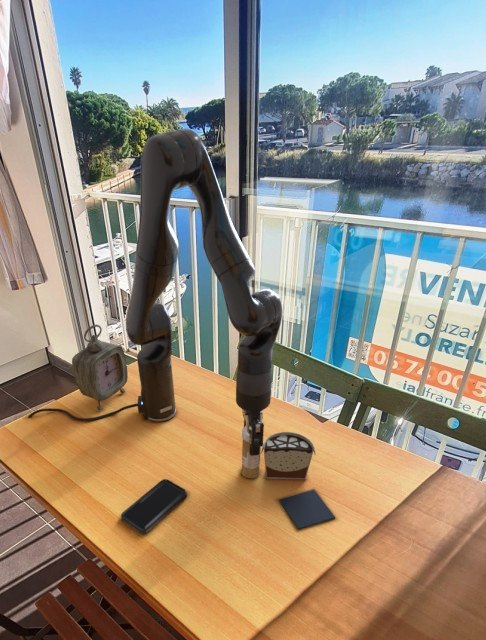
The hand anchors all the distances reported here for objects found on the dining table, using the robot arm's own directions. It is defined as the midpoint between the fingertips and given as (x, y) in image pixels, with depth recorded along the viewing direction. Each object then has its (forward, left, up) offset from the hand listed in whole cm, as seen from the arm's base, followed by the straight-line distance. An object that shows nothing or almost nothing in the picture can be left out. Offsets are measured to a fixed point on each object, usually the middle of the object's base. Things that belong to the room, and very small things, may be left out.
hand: (251, 442), depth 106 cm
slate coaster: (+11, -13, -10) cm, 19 cm away
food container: (+9, 0, -10) cm, 13 cm away
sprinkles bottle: (0, 0, -10) cm, 10 cm away
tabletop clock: (-40, +37, -10) cm, 55 cm away
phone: (-23, -9, -10) cm, 27 cm away
